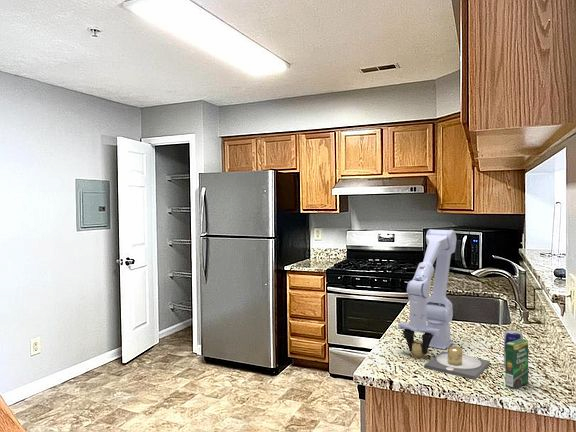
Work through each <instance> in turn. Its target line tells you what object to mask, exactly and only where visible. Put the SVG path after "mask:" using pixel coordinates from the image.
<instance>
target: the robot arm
mask: <svg viewBox="0 0 576 432" xmlns="http://www.w3.org/2000/svg"><path fill="white" fill-rule="evenodd" d="M425 242H426V245H427V247H426V250H425V254H424V258H423V261H422V262H419V263H418V264H417V265H418V266H417V268H416V270H415V273H414V276H413V278H412V279H411V280H409V281H408V282H407V286H406V293H407V296H408V301H409V323H408V322H398V324H397V329H398V330H403V331H402V335H403V337H404V338H405V340H406V343H407V346H408V350H409V352H412V341H414V339H415V332H417V333H423V334H422V335H421V338H422V340H421V341H423V354H425V355H427V354H428V352H429V351H428V350H429V347H430V348H435V349H440V350H446V349H448V347H450V346H451V345H453V341H451V325H450V322H452V320H453V316H454V310H453V306H454V305H453V303H452V302H451V300H450V299H449V298H447V290H448V289H447V288H448V282H449V273H450V265H451V258H452V255H453V253H455V252H456V246H457V234H456V232H455V230H454V229H433V228H430V229H428V230H427V231H426V235H425ZM435 262H436V263H435ZM434 264H435V267H434V266H433V265H434ZM433 275H434V278H433V286H432V295H430V292H431V279H432V277H433ZM429 295H430V296H429Z"/></svg>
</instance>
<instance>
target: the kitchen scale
mask: <svg viewBox="0 0 576 432" xmlns="http://www.w3.org/2000/svg"><path fill="white" fill-rule="evenodd" d="M490 364H491V360H488V359H483V358H477V357H474V356H471V355H468V354H463V353H462V365H461V366H453V365H450V364H448V351H443V350H442V351H441V352H440V353H438V354H437V355H435V356H434V357H433V358H432V359H430V360H429V361H427V362H426V363H424V364H423V368H424V369H427V370H431V371H436V372H441V373H445V374H450V375H452V376H458V377H462V378H466V379H470V380H471V379H472V380H477V378H478V377H479V376H480V375H481V374H482V373H483V372H484V370H486V369H487V367H489V365H490Z"/></svg>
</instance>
